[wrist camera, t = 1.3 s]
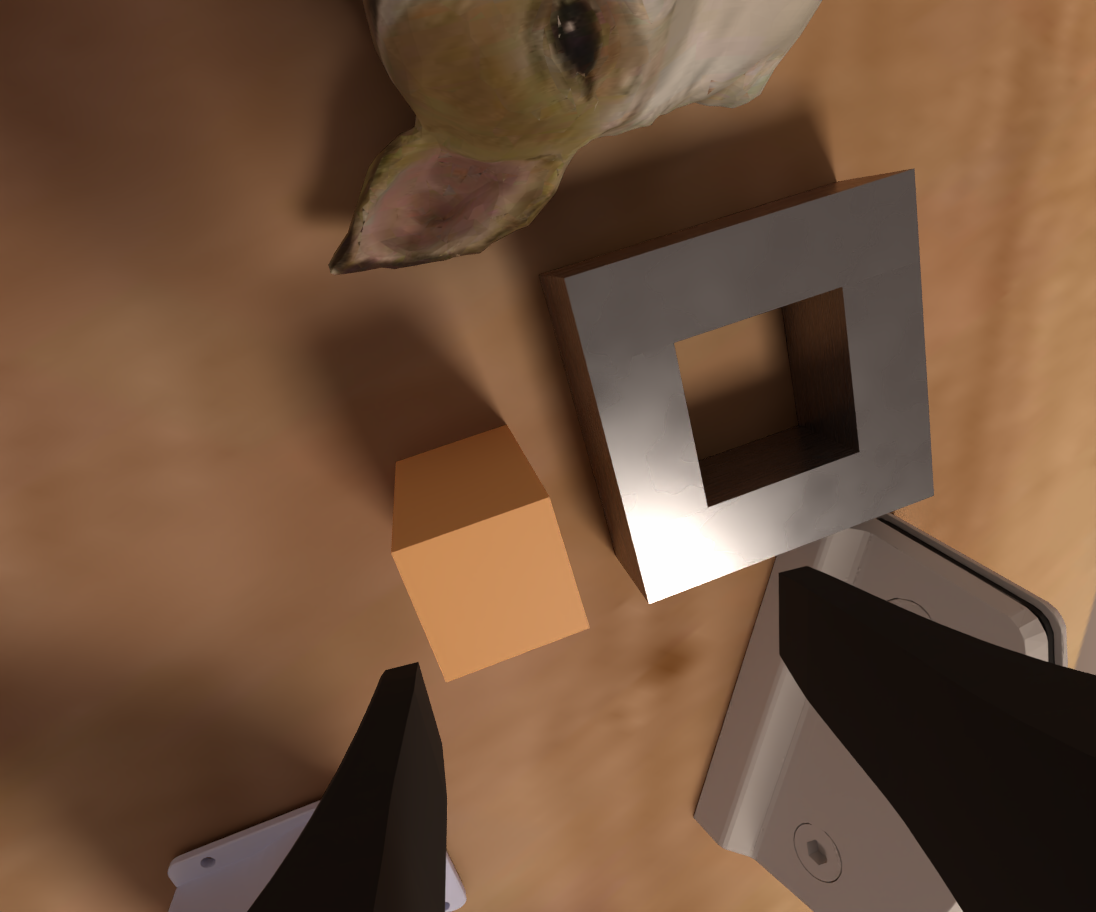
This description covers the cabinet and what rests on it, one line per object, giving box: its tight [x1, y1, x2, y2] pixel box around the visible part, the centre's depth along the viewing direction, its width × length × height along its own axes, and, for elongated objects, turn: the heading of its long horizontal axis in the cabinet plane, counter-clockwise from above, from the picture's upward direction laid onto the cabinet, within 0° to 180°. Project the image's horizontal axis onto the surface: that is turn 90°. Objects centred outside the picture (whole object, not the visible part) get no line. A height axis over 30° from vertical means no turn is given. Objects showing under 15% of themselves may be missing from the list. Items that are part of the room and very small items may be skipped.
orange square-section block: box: [391, 425, 590, 682], centre depth 19 cm, size 4×4×7 cm
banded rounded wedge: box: [694, 513, 1068, 912], centre depth 25 cm, size 17×5×10 cm, turn 168°
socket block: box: [539, 169, 934, 604], centre depth 21 cm, size 11×11×4 cm
